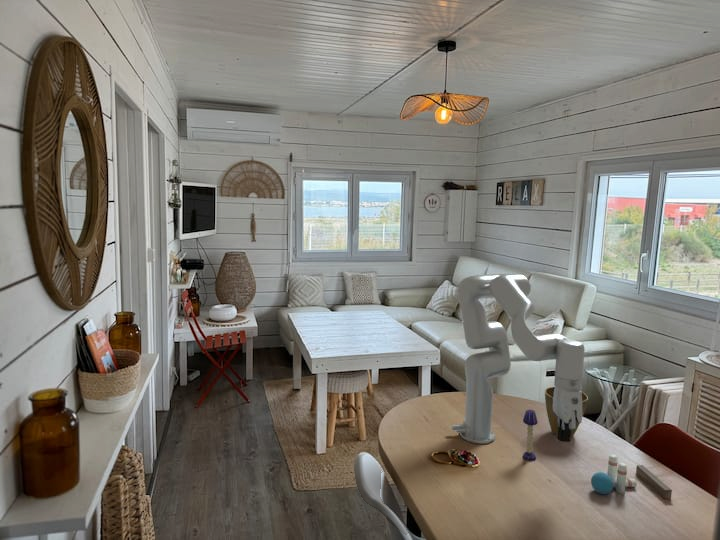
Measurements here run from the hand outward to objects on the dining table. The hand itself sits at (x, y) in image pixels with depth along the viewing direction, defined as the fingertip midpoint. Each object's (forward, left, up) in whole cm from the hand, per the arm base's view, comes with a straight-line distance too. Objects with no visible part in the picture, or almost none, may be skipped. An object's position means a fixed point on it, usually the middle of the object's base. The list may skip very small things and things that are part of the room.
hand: (563, 440), depth 150 cm
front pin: (+14, 0, -14) cm, 20 cm away
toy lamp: (-3, +18, -15) cm, 24 cm away
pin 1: (+17, +3, -15) cm, 23 cm away
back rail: (+29, 0, -15) cm, 33 cm away
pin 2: (+17, -2, -15) cm, 23 cm away
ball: (+11, -3, -12) cm, 17 cm away
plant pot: (+17, +35, -15) cm, 42 cm away
